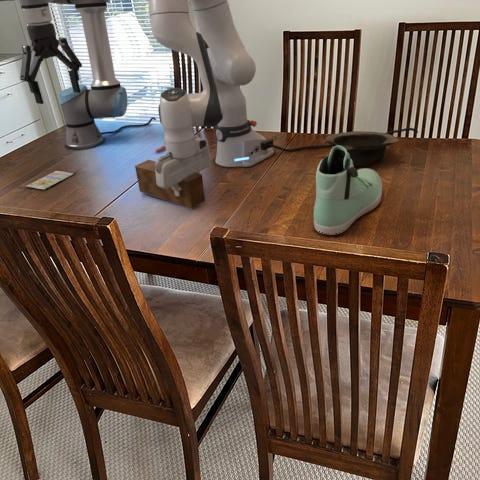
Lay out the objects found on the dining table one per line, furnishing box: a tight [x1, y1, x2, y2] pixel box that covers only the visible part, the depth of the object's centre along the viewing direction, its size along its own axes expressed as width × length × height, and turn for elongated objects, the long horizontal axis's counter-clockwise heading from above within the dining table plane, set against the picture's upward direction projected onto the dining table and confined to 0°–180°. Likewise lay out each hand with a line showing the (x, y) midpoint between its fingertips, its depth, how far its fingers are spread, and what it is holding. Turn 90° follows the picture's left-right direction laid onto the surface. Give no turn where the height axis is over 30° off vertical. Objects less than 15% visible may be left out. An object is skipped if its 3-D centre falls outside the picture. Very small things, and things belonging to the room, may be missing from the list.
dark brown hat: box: [324, 130, 399, 167], centre depth 168 cm, size 25×25×9 cm
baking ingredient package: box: [26, 170, 75, 190], centre depth 172 cm, size 9×1×15 cm
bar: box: [134, 159, 206, 210], centre depth 150 cm, size 23×6×9 cm, turn 52°
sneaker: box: [313, 146, 383, 236], centre depth 133 cm, size 14×35×20 cm, turn 152°
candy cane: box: [155, 144, 166, 153], centre depth 194 cm, size 6×15×2 cm, turn 145°
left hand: (59, 97), depth 150 cm, fingers open, 13 cm apart
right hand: (186, 190), depth 146 cm, fingers closed on bar, 6 cm apart
